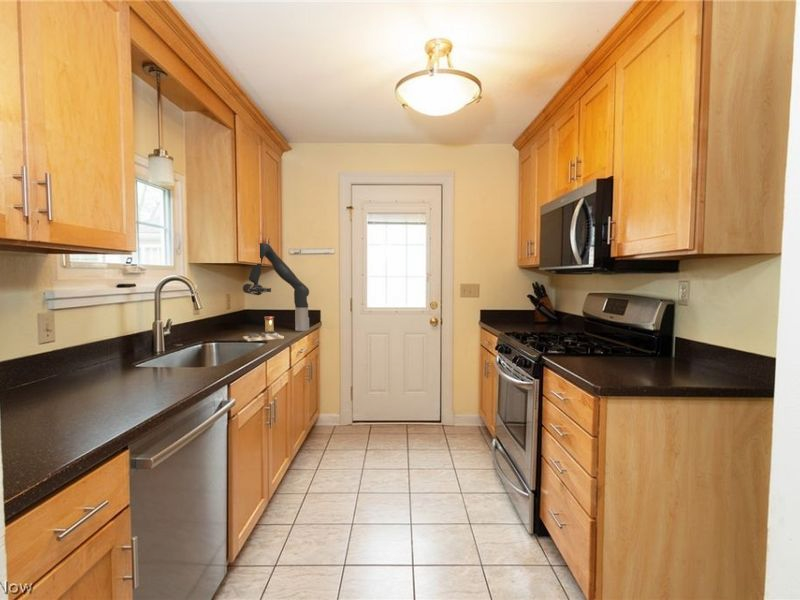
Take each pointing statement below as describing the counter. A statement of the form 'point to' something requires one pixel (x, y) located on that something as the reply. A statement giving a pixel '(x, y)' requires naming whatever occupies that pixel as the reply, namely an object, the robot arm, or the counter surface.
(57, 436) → the counter surface
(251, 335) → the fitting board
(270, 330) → the yellow jar
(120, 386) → the counter surface
